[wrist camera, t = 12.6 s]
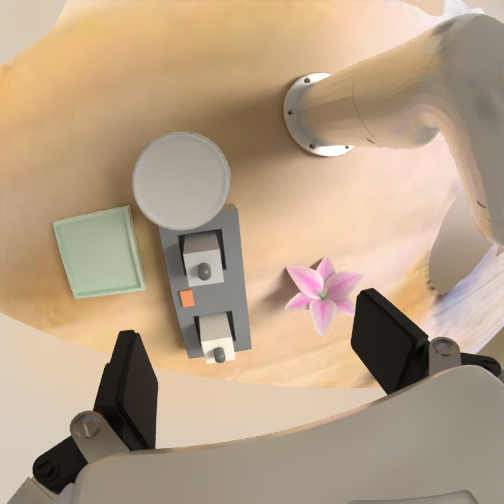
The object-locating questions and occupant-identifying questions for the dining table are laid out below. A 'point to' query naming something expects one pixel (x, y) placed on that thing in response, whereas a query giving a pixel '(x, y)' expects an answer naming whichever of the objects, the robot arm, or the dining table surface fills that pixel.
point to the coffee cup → (181, 180)
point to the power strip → (211, 295)
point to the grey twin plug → (202, 258)
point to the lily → (323, 292)
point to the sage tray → (100, 253)
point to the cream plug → (216, 338)
